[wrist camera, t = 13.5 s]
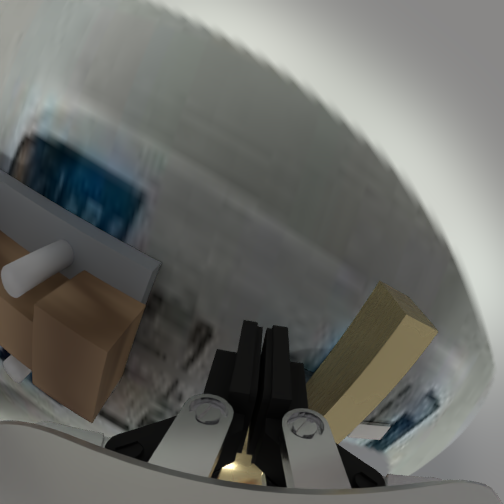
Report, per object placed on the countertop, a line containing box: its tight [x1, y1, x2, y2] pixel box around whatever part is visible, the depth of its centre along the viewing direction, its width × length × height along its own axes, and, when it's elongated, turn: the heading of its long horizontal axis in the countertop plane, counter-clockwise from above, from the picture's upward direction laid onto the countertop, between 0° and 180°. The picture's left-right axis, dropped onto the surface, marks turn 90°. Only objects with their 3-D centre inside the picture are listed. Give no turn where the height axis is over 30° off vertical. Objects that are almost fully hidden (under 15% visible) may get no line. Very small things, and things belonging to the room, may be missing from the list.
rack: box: [0, 169, 161, 393], centre depth 12 cm, size 16×9×5 cm, turn 63°
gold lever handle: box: [219, 281, 438, 485], centre depth 12 cm, size 14×7×3 cm, turn 153°
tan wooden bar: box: [0, 230, 146, 423], centre depth 12 cm, size 15×5×4 cm, turn 64°
